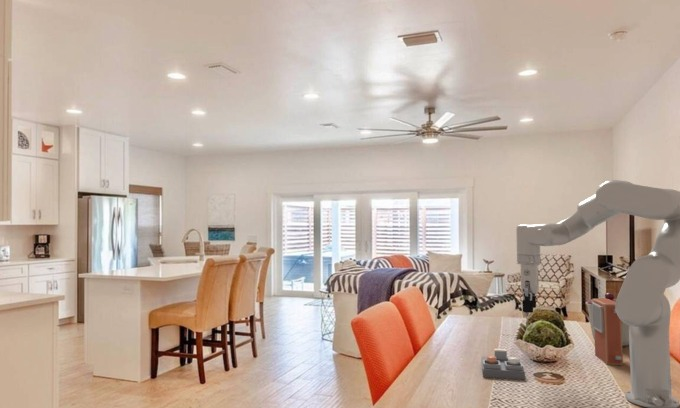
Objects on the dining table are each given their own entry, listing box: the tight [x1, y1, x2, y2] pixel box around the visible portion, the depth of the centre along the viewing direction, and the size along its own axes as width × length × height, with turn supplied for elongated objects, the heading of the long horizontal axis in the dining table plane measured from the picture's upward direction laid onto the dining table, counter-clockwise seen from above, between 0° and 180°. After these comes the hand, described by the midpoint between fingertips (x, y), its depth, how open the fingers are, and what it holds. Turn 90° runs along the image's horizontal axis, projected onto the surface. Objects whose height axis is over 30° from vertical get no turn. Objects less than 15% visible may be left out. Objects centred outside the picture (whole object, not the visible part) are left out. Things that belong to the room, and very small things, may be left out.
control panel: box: [592, 298, 624, 366], centre depth 172 cm, size 21×7×15 cm
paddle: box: [493, 348, 508, 360], centre depth 166 cm, size 2×4×3 cm, turn 75°
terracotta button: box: [486, 355, 497, 363], centre depth 158 cm, size 3×3×2 cm
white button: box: [508, 356, 520, 364], centre depth 156 cm, size 3×3×2 cm
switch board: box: [481, 354, 526, 381], centre depth 160 cm, size 15×13×4 cm
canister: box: [585, 292, 630, 347], centre depth 195 cm, size 18×18×21 cm
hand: (529, 309), depth 161 cm, fingers open, 9 cm apart
